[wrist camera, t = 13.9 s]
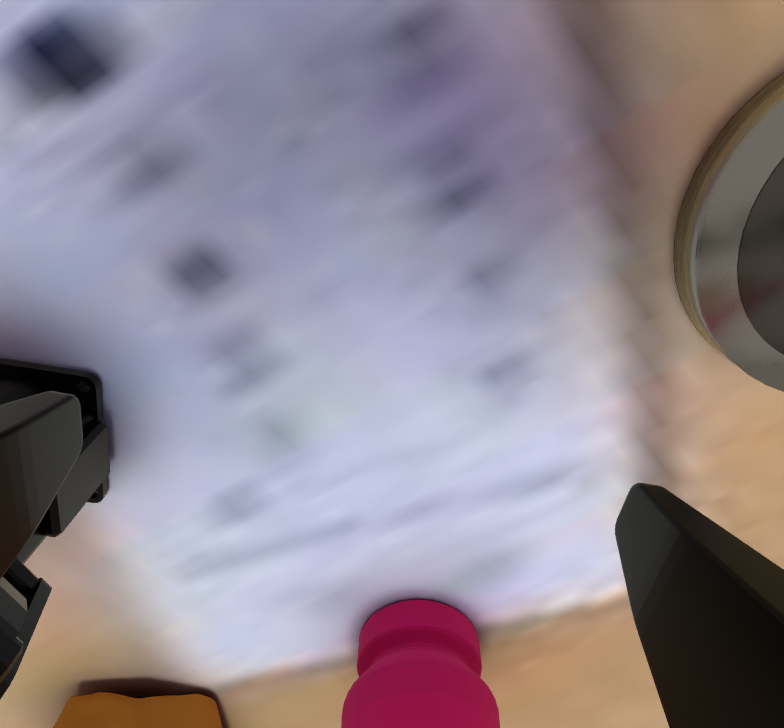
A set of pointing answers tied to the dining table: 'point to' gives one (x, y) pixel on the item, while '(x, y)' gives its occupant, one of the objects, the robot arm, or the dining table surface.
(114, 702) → the coffee package
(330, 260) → the dining table surface
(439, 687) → the pepper mill
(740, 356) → the dark grey bowl
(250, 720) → the dining table surface
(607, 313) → the dining table surface
